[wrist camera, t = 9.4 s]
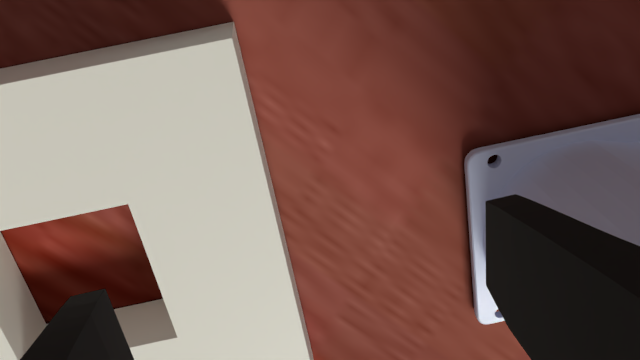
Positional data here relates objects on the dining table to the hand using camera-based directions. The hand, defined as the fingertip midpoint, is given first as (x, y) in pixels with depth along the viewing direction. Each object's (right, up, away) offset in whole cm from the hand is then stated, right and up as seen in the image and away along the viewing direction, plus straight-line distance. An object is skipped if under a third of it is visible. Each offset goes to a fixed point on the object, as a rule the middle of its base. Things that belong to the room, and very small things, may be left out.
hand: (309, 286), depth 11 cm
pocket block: (-8, -1, +10) cm, 13 cm away
